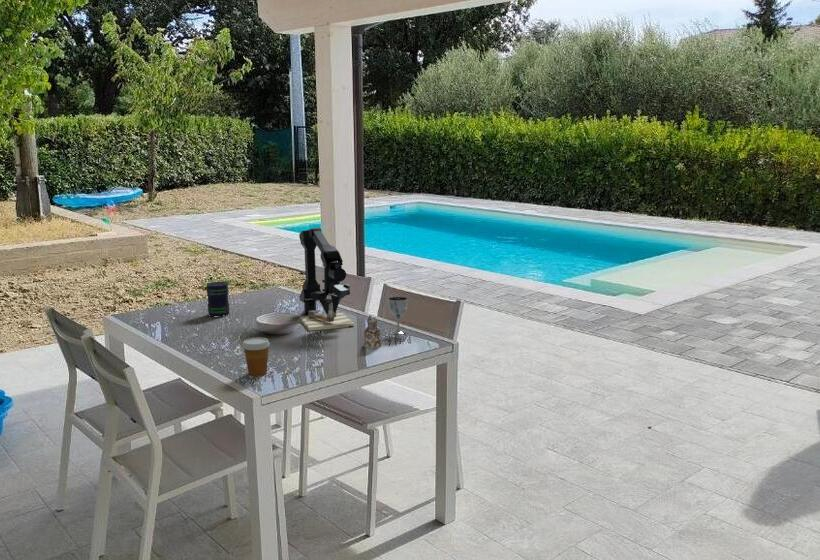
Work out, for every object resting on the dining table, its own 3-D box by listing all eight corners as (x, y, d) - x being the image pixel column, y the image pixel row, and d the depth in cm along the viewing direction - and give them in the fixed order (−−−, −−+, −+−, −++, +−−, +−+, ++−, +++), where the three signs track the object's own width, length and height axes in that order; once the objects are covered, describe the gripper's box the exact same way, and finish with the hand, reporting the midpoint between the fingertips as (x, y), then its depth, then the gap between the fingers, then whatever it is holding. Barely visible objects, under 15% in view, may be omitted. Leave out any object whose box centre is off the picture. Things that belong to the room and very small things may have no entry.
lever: (307, 317, 342) (306, 295, 340) (313, 315, 344) (312, 294, 342) (328, 323, 330) (327, 301, 328) (335, 322, 333) (334, 300, 331)
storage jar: (211, 318, 349) (209, 286, 346) (205, 314, 358) (203, 283, 355) (232, 315, 354) (230, 284, 351) (226, 311, 362) (224, 280, 360)
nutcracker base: (300, 320, 344) (299, 308, 343) (342, 316, 351) (342, 304, 350) (309, 330, 326) (308, 318, 325) (354, 326, 332) (353, 314, 331)
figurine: (364, 348, 298) (363, 319, 296) (362, 344, 305) (361, 315, 303) (382, 347, 299) (381, 318, 297) (379, 342, 306) (379, 314, 304)
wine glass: (408, 330, 325) (408, 296, 322) (406, 335, 317) (406, 300, 314) (390, 330, 325) (389, 296, 323) (387, 335, 318) (387, 300, 315)
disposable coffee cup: (238, 376, 267) (236, 343, 264) (253, 368, 275) (251, 336, 273) (262, 378, 263) (260, 345, 261) (276, 370, 272) (274, 338, 270)
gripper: (328, 282, 318) (328, 319, 320) (358, 277, 332) (358, 312, 335) (310, 279, 325) (310, 315, 327) (340, 274, 339) (340, 308, 342)
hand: (330, 312), depth 333 cm, fingers open, 4 cm apart
